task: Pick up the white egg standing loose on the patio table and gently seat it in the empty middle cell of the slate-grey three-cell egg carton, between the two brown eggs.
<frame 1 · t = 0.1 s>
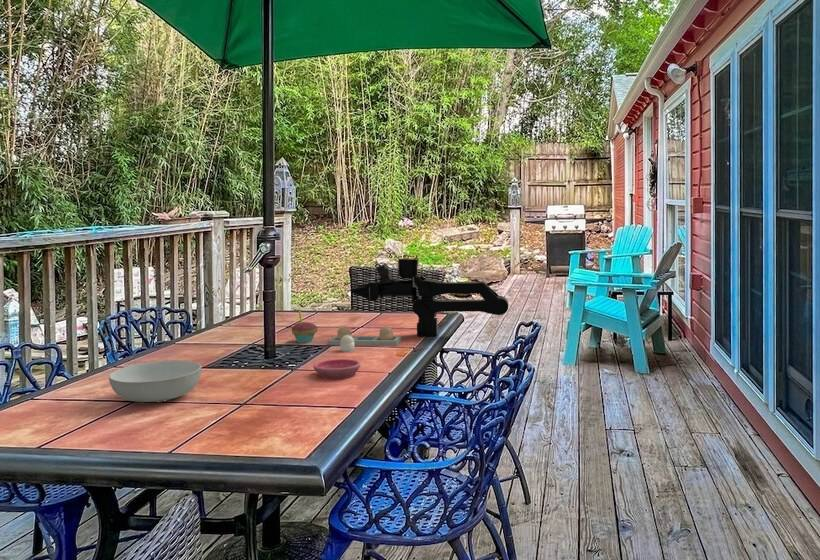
hand: (354, 289, 235), 17 cm above the table, tool horizontal, fingers open, 9 cm apart
white egg: (347, 352, 211), on the table
egg carton: (365, 344, 222), on the table
brown egg 2: (386, 342, 221), point 1 cm above the table, touching egg carton
serving bowl: (157, 398, 164), on the table
brown egg 1: (344, 342, 223), point 1 cm above the table, touching egg carton
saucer: (337, 375, 183), on the table
cupcake: (305, 343, 228), on the table
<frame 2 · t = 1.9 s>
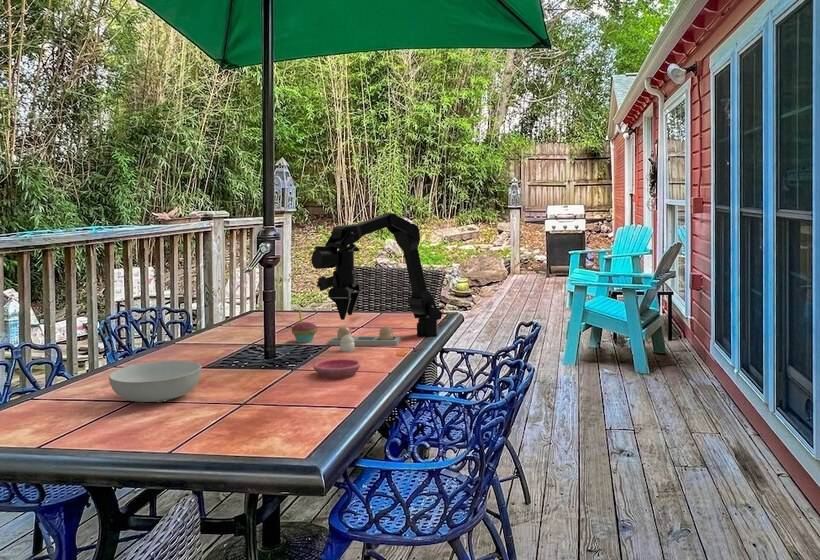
hand: (346, 317, 210), 11 cm above the table, tool pointing down, fingers open, 9 cm apart
nothing on the table moved.
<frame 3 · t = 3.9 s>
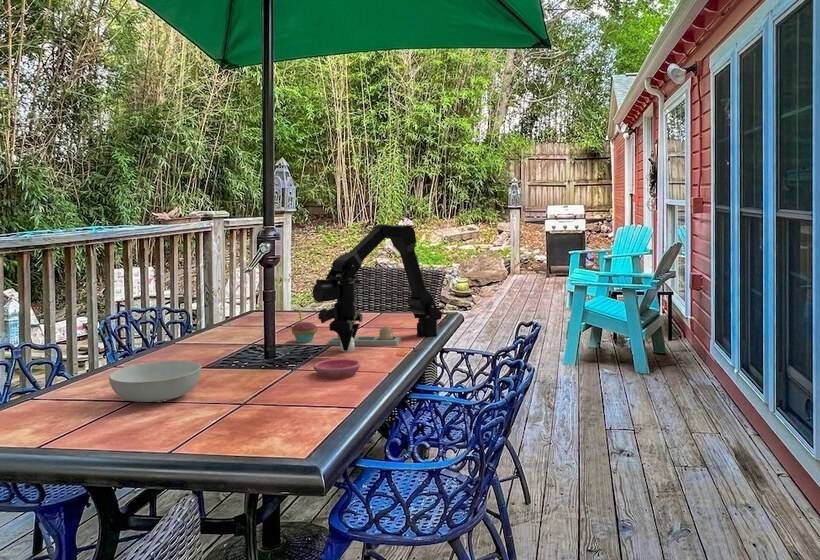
hand: (347, 348, 211), 1 cm above the table, tool pointing down, fingers closed on white egg, 4 cm apart
white egg: (347, 352, 211), on the table, touching gripper
everything else where it was.
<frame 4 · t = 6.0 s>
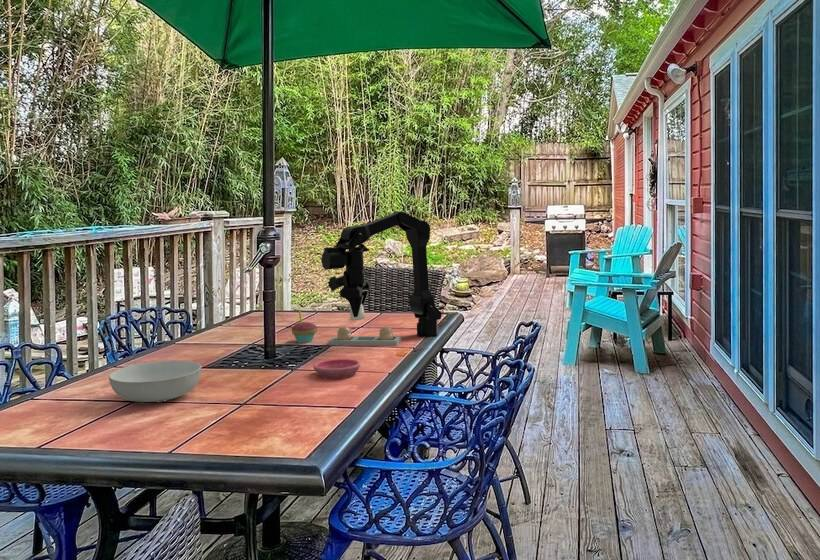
hand: (357, 315, 216), 10 cm above the table, tool pointing down, fingers closed on white egg, 4 cm apart
white egg: (357, 318, 216), point 9 cm above the table, touching gripper
everything else where it was.
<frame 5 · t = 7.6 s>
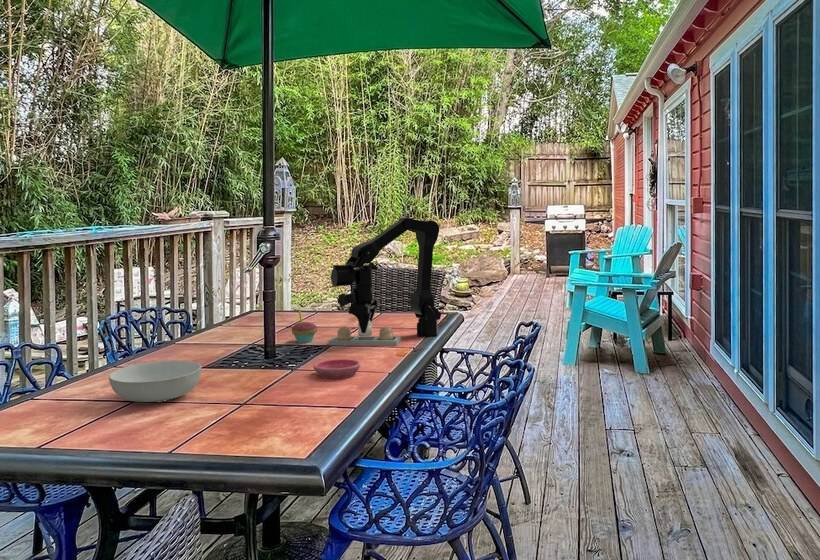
hand: (365, 331, 222), 4 cm above the table, tool pointing down, fingers closed on white egg, 4 cm apart
white egg: (365, 334, 222), point 3 cm above the table, touching gripper
everything else where it was.
when the fingers open (3 cm above the table, at t = 8.5 s): white egg drops 2 cm, resting on egg carton.
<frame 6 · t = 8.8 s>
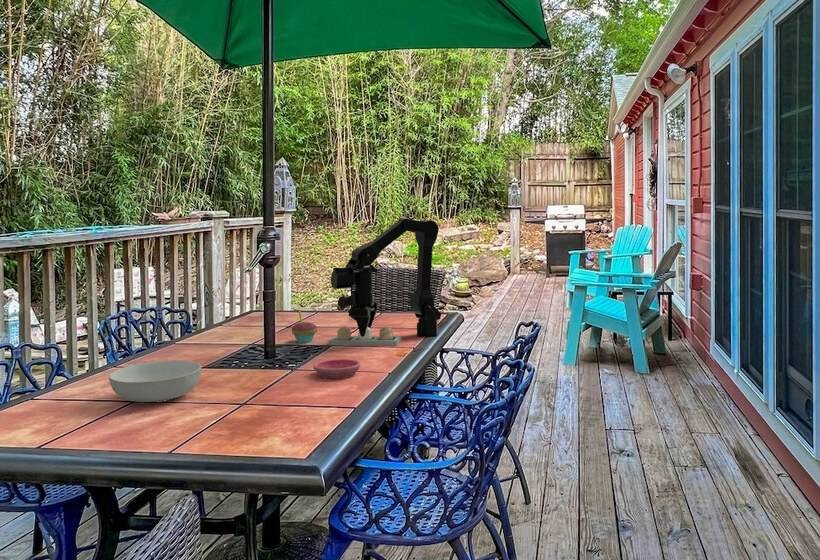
hand: (365, 334, 222), 3 cm above the table, tool pointing down, fingers open, 7 cm apart
white egg: (365, 342, 222), point 1 cm above the table, touching egg carton
everything else where it was.
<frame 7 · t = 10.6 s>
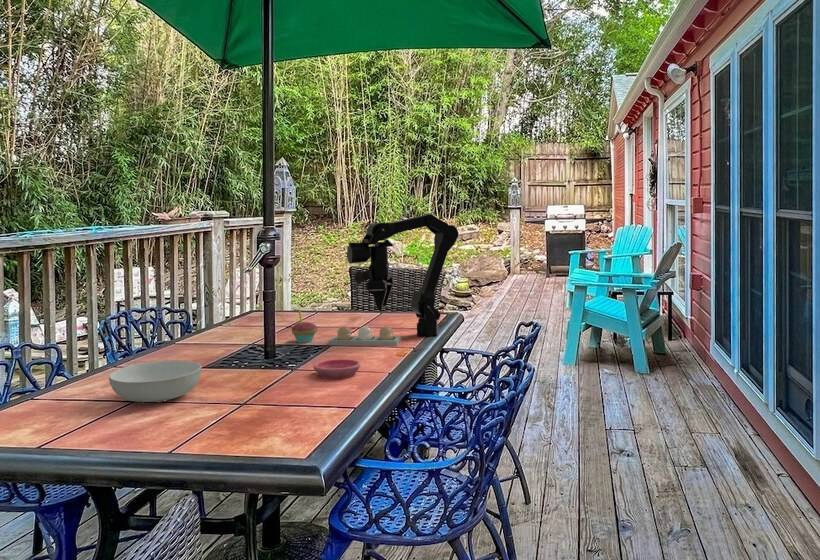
hand: (381, 307, 226), 11 cm above the table, tool pointing down, fingers open, 9 cm apart
nothing on the table moved.
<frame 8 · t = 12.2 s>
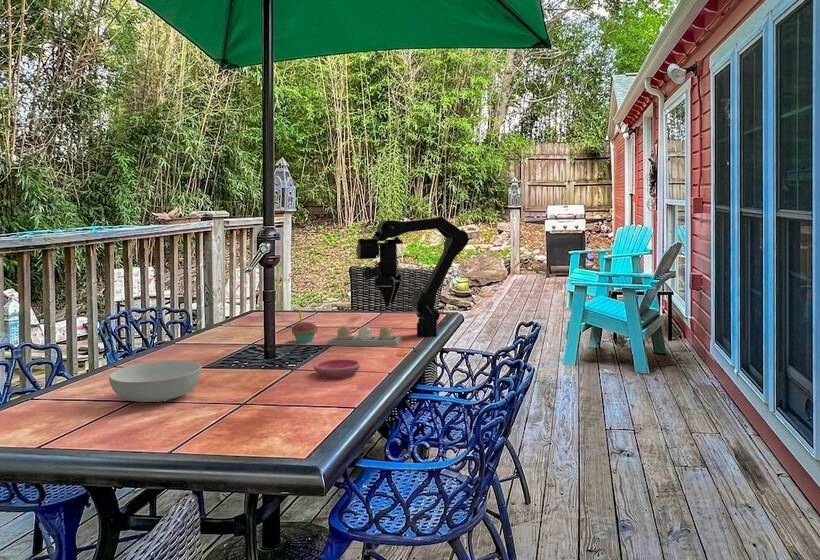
hand: (389, 304, 228), 12 cm above the table, tool pointing down, fingers open, 9 cm apart
nothing on the table moved.
at the end: white egg 0.0 cm off-centre on the egg carton, point 0.6 cm above the egg carton's base; white egg tilted 0°; the gripper is holding nothing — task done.
